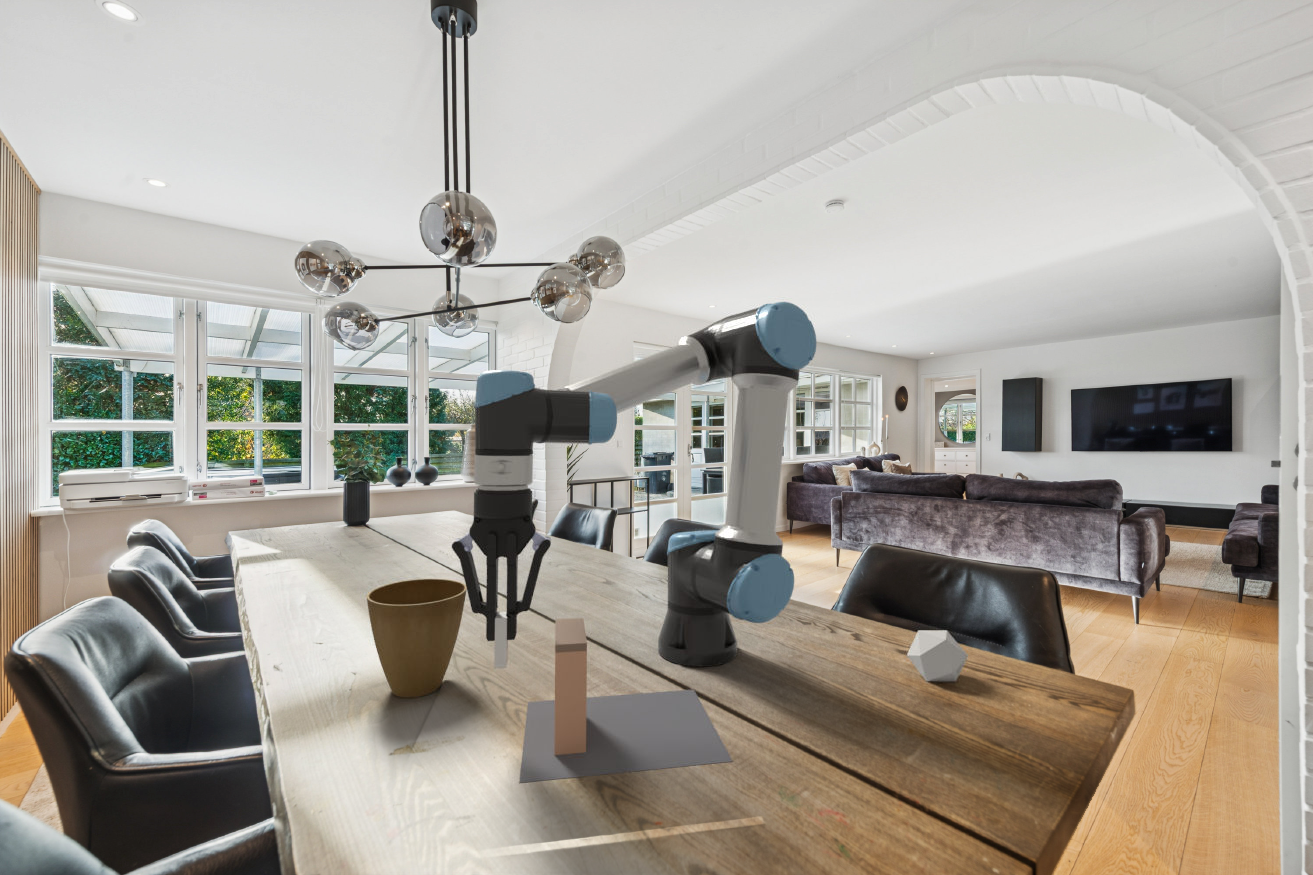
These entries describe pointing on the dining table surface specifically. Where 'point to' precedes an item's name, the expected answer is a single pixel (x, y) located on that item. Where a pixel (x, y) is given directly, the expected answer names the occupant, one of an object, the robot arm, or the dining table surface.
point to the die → (937, 655)
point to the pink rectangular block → (570, 686)
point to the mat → (624, 737)
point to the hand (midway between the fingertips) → (501, 663)
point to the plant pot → (416, 631)
